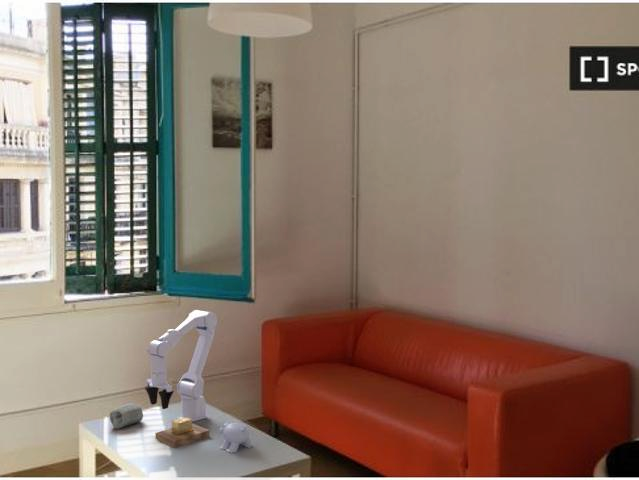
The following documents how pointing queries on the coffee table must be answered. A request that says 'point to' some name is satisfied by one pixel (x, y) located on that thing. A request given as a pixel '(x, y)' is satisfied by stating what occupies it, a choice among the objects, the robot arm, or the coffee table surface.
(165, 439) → the slot board
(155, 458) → the coffee table surface
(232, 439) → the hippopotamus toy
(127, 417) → the grey cylinder
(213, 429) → the coffee table surface
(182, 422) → the key peg
